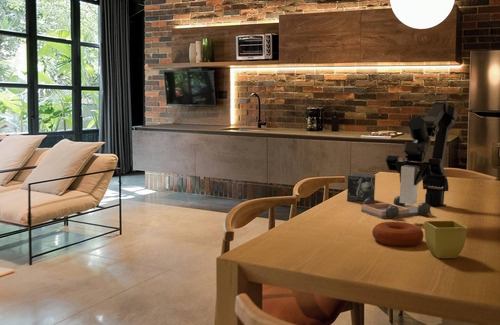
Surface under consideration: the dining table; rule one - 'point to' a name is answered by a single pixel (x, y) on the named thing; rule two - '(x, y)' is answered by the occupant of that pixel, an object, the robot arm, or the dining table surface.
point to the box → (360, 187)
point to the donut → (397, 234)
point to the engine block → (408, 184)
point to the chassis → (393, 209)
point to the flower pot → (445, 238)
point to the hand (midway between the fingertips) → (407, 183)
